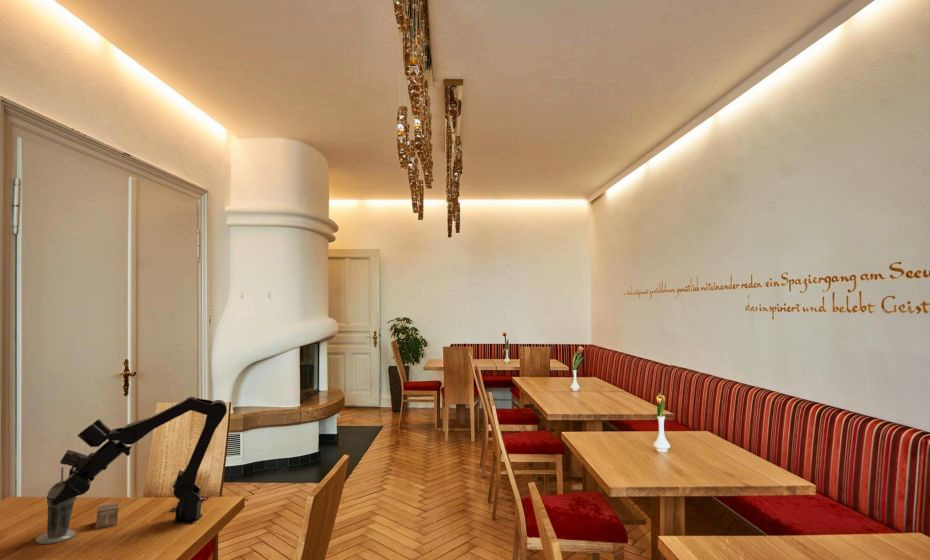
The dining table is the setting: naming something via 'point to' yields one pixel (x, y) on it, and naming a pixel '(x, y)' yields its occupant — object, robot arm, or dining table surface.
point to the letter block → (107, 515)
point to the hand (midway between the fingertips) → (53, 499)
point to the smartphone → (177, 505)
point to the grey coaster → (45, 540)
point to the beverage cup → (58, 511)
